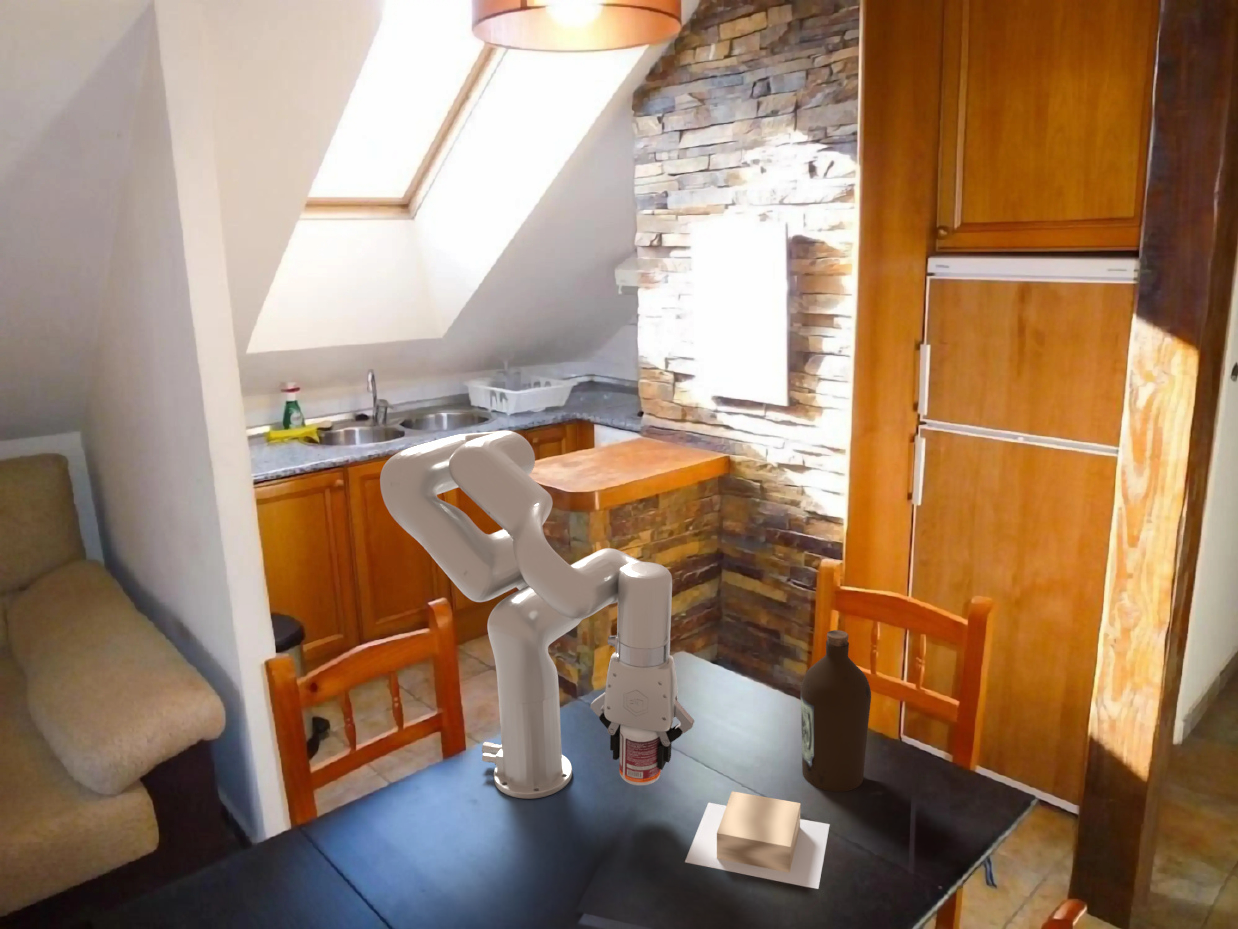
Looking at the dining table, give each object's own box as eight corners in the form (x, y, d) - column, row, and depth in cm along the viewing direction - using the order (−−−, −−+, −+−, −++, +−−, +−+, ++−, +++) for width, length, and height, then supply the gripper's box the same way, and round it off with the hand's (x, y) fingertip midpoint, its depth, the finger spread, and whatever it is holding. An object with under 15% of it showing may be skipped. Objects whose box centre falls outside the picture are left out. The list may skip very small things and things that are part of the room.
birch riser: (716, 858, 124) (716, 833, 123) (731, 815, 133) (731, 791, 132) (789, 873, 120) (790, 847, 119) (799, 827, 130) (800, 803, 129)
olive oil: (859, 761, 147) (865, 619, 141) (873, 800, 137) (881, 649, 131) (794, 760, 148) (797, 619, 142) (803, 799, 138) (807, 649, 132)
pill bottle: (668, 778, 132) (671, 710, 129) (634, 792, 129) (636, 722, 126) (644, 758, 137) (646, 691, 134) (611, 770, 134) (612, 702, 131)
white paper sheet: (684, 868, 123) (684, 862, 123) (708, 808, 136) (708, 802, 136) (818, 895, 118) (818, 889, 117) (829, 830, 130) (829, 824, 130)
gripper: (577, 650, 127) (576, 761, 132) (696, 671, 121) (690, 786, 126) (595, 628, 134) (594, 735, 138) (708, 647, 128) (703, 757, 133)
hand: (640, 758), depth 132 cm, fingers closed on pill bottle, 6 cm apart
